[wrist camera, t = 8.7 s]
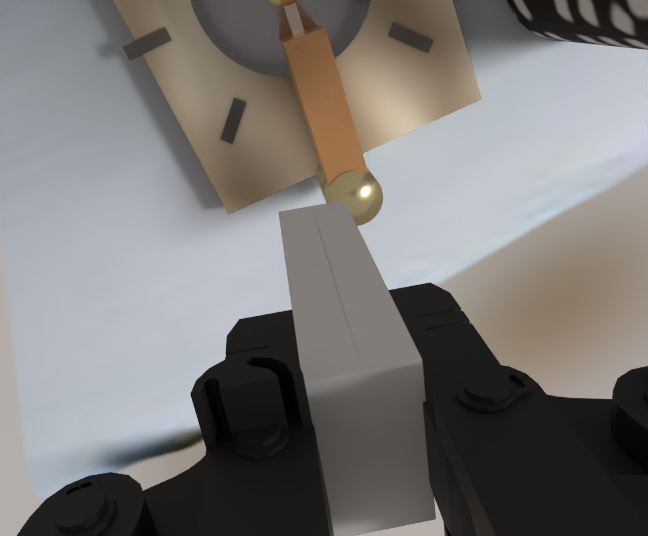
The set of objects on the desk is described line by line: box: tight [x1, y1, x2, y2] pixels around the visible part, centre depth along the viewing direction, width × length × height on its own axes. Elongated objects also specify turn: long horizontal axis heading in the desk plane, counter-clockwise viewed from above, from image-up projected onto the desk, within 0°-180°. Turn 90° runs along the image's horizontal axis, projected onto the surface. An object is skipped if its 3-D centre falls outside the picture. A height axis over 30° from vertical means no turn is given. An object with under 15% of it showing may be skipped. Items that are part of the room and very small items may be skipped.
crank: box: [190, 0, 383, 226], centre depth 29 cm, size 16×9×5 cm, turn 18°
